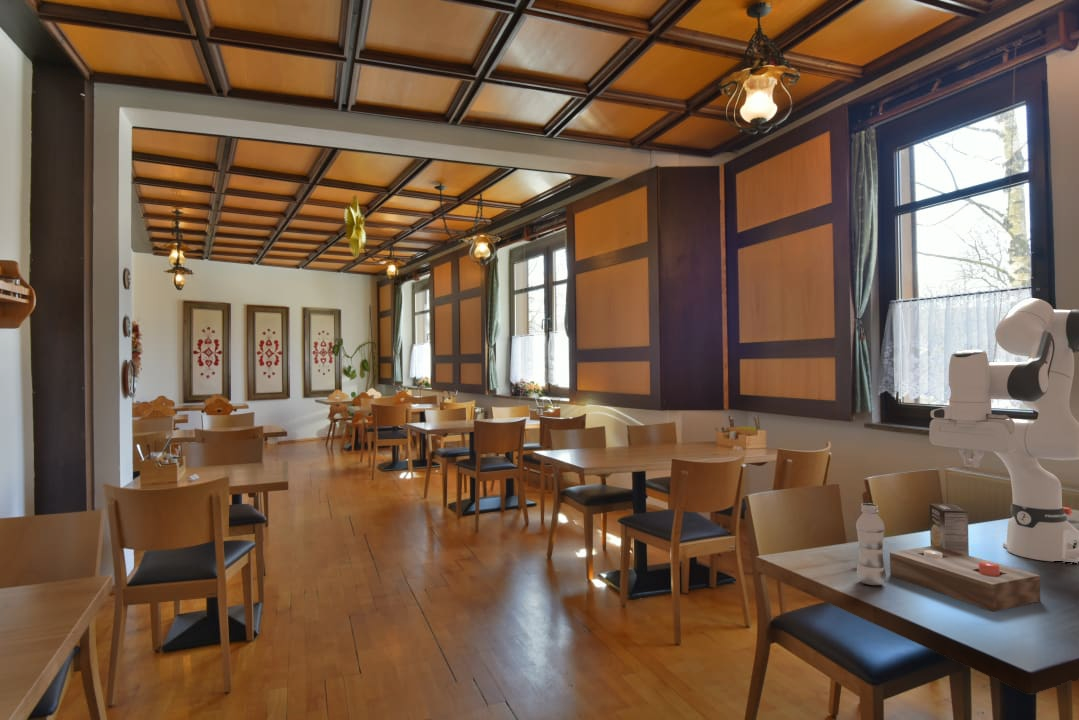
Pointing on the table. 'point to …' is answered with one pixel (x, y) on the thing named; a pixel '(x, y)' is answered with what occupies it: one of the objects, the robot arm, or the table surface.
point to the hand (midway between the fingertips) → (971, 466)
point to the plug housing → (966, 578)
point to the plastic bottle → (870, 546)
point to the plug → (933, 554)
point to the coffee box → (949, 527)
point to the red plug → (989, 568)
